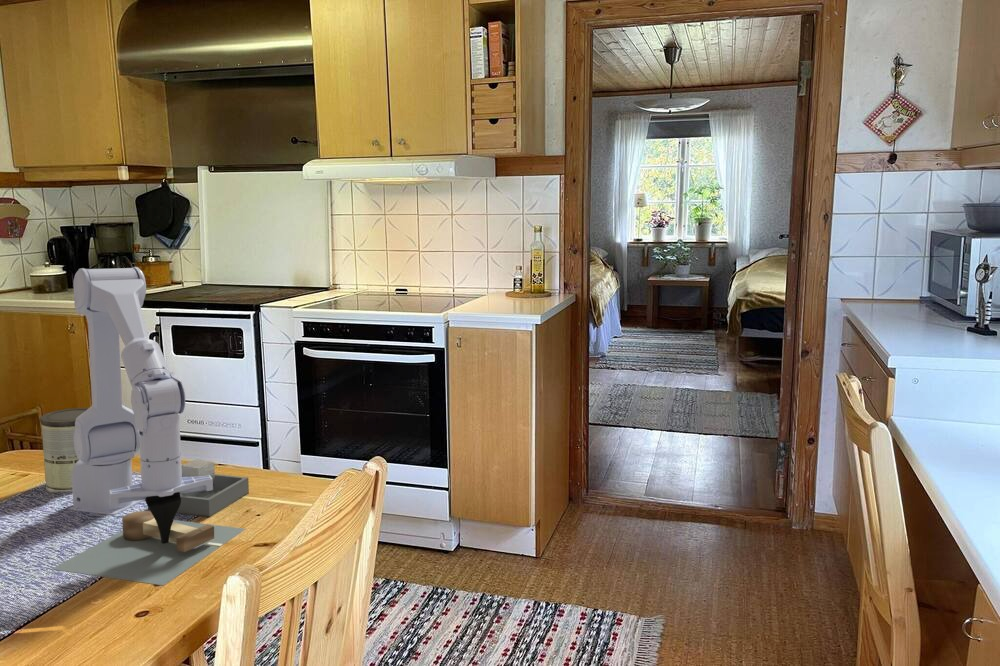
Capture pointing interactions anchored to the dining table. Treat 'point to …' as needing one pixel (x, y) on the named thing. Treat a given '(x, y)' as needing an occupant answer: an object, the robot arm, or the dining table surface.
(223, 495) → the tray
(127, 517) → the crank lever
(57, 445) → the coffee can
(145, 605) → the dining table surface
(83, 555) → the crank board
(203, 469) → the block
